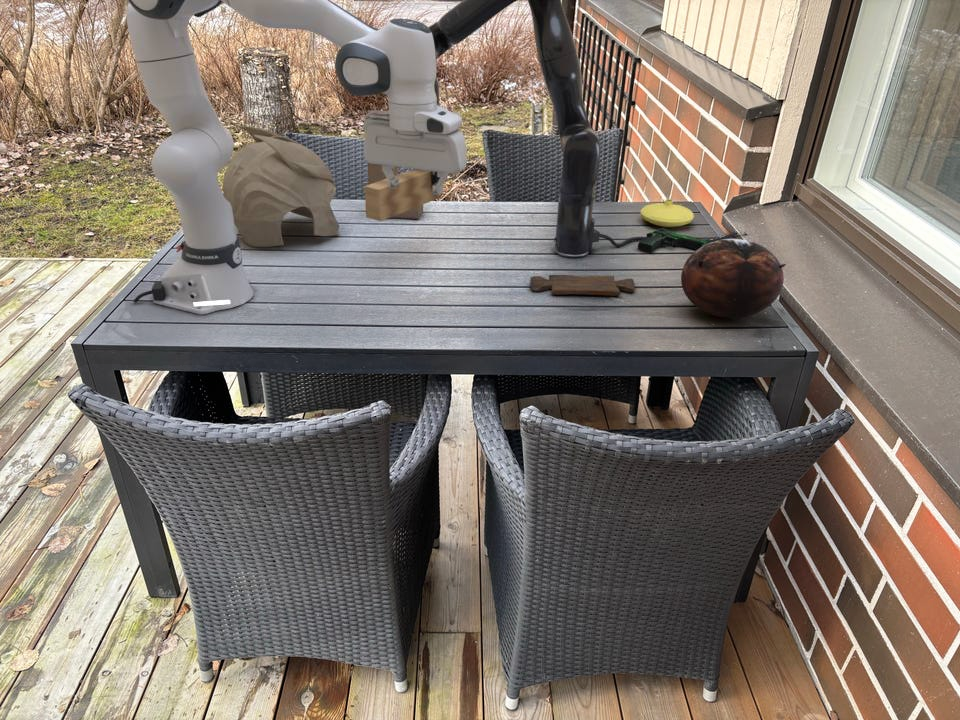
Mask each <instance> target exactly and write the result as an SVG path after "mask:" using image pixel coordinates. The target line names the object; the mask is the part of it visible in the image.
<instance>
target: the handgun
mask: <svg viewBox="0 0 960 720" xmlns="http://www.w3.org/2000/svg"><path fill="white" fill-rule="evenodd" d="M645 237H648V238H645V239H642V240H638V244H637V249H638V250H639V251H642V252H646V253H650V254H651V253H652V252H653V251H654V250H655V249H658V248H660V247H663V246H665V247H669V248H670V247H671V248H672V247H684V248H688V249H691V250H692V249H693V250H695V251H696V250H698V249H699V248H701V247H702V246H704V245H706V244H709V242H708V240H704V238H699V237H695V236H690V235H685V234H681V233H677V232H675V231H671V230H668V229H666V228H661V227H660V228H658V229H655V230H654V231H652V232H647V233H646V235H645Z"/></svg>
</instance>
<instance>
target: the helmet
mask: <svg viewBox="0 0 960 720" xmlns="http://www.w3.org/2000/svg"><path fill="white" fill-rule="evenodd" d="M238 128H239V129H242V130H244V131H245V132H246V133H247V134H248V135H249V136H250V137H251V138H252V140H254V143H250V144H246V145H245V146H243V147H242V148H241V149H239V150H238V151H237V152H236V153H234V154H233V155H232V156H231V158H230V160H229V162H228V166H227V167H226V169H225V171H224V175H223V179H222V193H223V195H224V197H225V199H226V200H227V201H229V202H230V204H231V206H232V211H233V217H234V223H235V229H236V230H237V231H238V232H239V234H240V236H241V238H242V239H243V241H244V242H245V244H247V245H248V246H251V247H255V248H257V247H258V248H268V247H278V246H284V245H285V244H284V240H283V237H282V222H283V220H284V217H285V216H287V214H288V213H293V214H295V215H298V216H302V217H305V218H309V219H312V221H313V222H312V223H313V235H314V236H322V237H327V236H338V235H339V231H340V224H339V222H338V221H337V219H336V216H335V214H334V212H333V208H332V206H331V202H332V201H333V199H334V197H335V196H336V193H337V187H336V185H335V182H334V178H333V174H332V171H331V169H330V168H329V167H328V166H327V164H326V163H325V162H324V161H323V159H322V158H321V157H320V156H319V155H318V154H317V153H316V152H315V151H313V150H312V149H311V148H308V147H306V146H305V145H303V144H300V143H299V142H298V141H296V140H294V139H292V138H290V137H287V136H283V135H279V134H277V133H275V132H272V131H270V130H268V129H263V128H260V127H255V126H250V125H249V126H248V125H239V126H238Z"/></svg>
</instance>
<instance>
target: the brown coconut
mask: <svg viewBox="0 0 960 720" xmlns="http://www.w3.org/2000/svg"><path fill="white" fill-rule="evenodd" d="M786 265H787V264H786V263H780V260H779V259H778V258H777V257H776V255H774V254H773V253H772V252H771V251H770V250H769V249H767V247H764V246H762V245H761V244H759V243H756V242H753V241H750V240H746V239H740V238H725V239H721V240H718V241H714V242H708V244H706V245H704V246H702V247H701V248H699V249H698V250H696V249H695V251H694V252H693V253H691V255H689V257H688V258H687V259H686V261H685V263H684V265H683V267H682V270H681V273H680V276H681V277H680V282H681V287H682V289H683V293H684V294H685V296H686V297H687V299H688V300H689V301H690V303H692V305H693V306H695V307H696V308H698V309H699V310H700V311H702V312H704V313H705V314H706V313H707V314H708V315H711V316H715V317H718V318H726V319H739V318H741V319H742V318H746V317H750V316H753V315H756V314H758V313H761V312H762V311H764V310H766V309H767V308H769V307H770V306H771V305H772V304H773V303H775V301H776V300H777V299H778V297H779V296H780V294H781V292H782V289H783V287H784V279H785V278H784V270H783V268H784V267H785V266H786Z"/></svg>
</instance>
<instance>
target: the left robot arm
mask: <svg viewBox="0 0 960 720" xmlns="http://www.w3.org/2000/svg"><path fill="white" fill-rule="evenodd" d="M127 1H128V4H127V6H126V8H125V14H126V24H127V29H128V36H129V40H130V44H131V49H132V52H133V55H134V59H135V61H136V66H137V68H138V71H139V74H140V78H141V80H142V83H143V86H144V90H145V92H146V96H147V98H148V101H149V103H150V104H151V105H152V106H153V108H155V109H157V111H159V113H160V114H161V116H162V117H163V119H164V120H165V122H166V124H167V126H168V128H169V129H170V134H171V135H170V136H167V138H164V139H163V140H162V141H161V142H160V144H159V145H158V147H157V148H156V150H155V151H154V153H153V156H152V159H151V169H152V172H153V175H154V176H155V178H156V180H157V181H158V182H159V183H160V184H161V185H162V186H163V187H164V188H166V189H167V190H168V191H169V194H170V196H171V198H172V200H173V201H174V205H175V206H176V208H177V212H178V215H179V219H180V223H181V224H180V225H181V228H182V233H183V237H184V240H183V241H182V242H181V243H180V244H179V245H177V246H176V247H175V249H177V250H176V251H175V252H176V253H179V252H180V251H181V256H180V257H179V258H178V259H176V260H175V261H174V262H173V263H172V264H171V265H170V266H169V267H168V268H166V270H165V271H164V272H163V274H162V276H161V281H160V280H159V281H154V282H153V285H152V287H151V288H150V289H151V290H147V291H144V292H142V293H140V294H138V295H137V296H135V298H134V299H133V303H134V304H136V303H137V302H139V301H140V300H141V298H143V297H147V296H149V295H152V297H153V299H152V300H153V303H154V304H156V305H160V306H164V307H169V308H172V309H175V310H180V311H184V312H187V313H188V312H189V313H193V314H197V315H207V314H210V313H213V312H217V311H223V310H229V309H232V308H235V307H239V306H242V305H243V304H245V303H247V302H249V301H250V300H251V299H253V297H254V294H255V292H254V290H253V288H252V286H251V284H250V282H249V279H248V277H247V275H246V270H245V268H244V265H243V253H242V252H243V251H242V247H241V241H240V237H239V236H238V235H237V228H236V226H235V223H234V217H233V211H232V206H231V204H230V202H229V201H227V200H226V199H225V197H224V195H223V190H222V189H221V185H220V183H219V172H220V171H221V170H223V169H224V168H225V167H227V165H229V163H230V160H231V158H232V157H233V153H234V148H235V145H234V144H235V142H234V138H233V136H232V133H231V131H230V130H229V129H228V128H227V127H226V126H225V125H223V124H222V122H221V121H220V119H219V116H218V114H217V113H216V111H215V108H214V106H213V105H212V103H211V101H210V98H209V96H208V94H207V91H206V88H205V85H204V82H203V78H202V76H201V75H202V74H201V72H200V69H199V64H198V62H197V57H196V55H195V51H194V48H193V44H192V41H191V39H190V35H189V27H188V26H189V23H190V20H191V18H192V17H196V18H201V17H203V16H204V15H206V14H208V13H210V12H212V11H213V10H215V9H217V8H218V7H220V6H221V5H222V4H223V3H224V4H225V5H226V6H228V7H229V8H231V9H232V10H233V11H234V12H236V13H237V14H239V15H240V16H242V17H243V18H245V19H247V20H248V21H251V22H253V23H255V24H257V25H258V26H261V27H264V28H268V29H286V30H288V29H291V30H299V31H300V30H301V31H307V32H310V33H313V34H316V35H319V36H321V37H323V38H324V39H326V40H328V41H329V42H331V43H332V44H334V45H336V46H337V47H339V50H338V52H337V53H336V57H335V61H334V70H335V74H336V78H337V79H338V82H339V84H340V85H341V87H342V88H343V89H344V90H345V91H346V92H347V93H349V94H351V95H352V96H356V97H371V96H374V95H379V94H384V95H386V96H387V103H388V111H389V114H377V113H370V115H368V116H366V118H364V119H363V130H364V141H363V156H364V157H363V158H364V160H365V161H366V163H367V162H368V163H372V164H380V165H382V171H383V172H384V174H385V176H386V177H387V179H388V186H389V188H398V187H399V178H397V177H395V176H394V174H393V171H392V168H393V166H396V167H398V168H405V169H411V170H413V169H420V170H427V171H435V172H437V177H440V179H439V181H438V183H435V184H434V185H432V189H433V191H432V192H433V194H438V195H440V194H441V195H442V194H443V193H444V184H445V182H446V180H447V179H448V177H449V174H451V175H458V174H460V173H461V172H462V171H463V170H464V169H465V168H466V167H467V163H468V161H467V159H468V158H467V155H468V154H467V146H466V145H467V144H466V143H467V142H466V139H465V135H464V133H463V132H462V130H460V128H461V127H462V126H463V118H462V116H460V115H459V114H457V113H455V112H453V111H450V110H448V109H446V108H444V107H442V106H441V105H440V106H438V105H437V97H436V94H435V89H434V84H435V79H436V77H437V59H436V56H435V46H434V40H433V35H432V32H431V30H430V29H429V26H428V25H426V24H424V22H421V21H418V20H414V19H410V18H402V17H401V18H393V19H390V20H389V21H388V22H386V24H384V26H382V27H381V28H378V27H374V26H372V25H370V24H368V23H366V22H365V21H363V20H362V19H360V18H359V17H357V16H356V15H354V14H352V13H351V12H349V11H347V10H346V9H345V8H343V7H341V6H340V5H338V4H337V3H335V2H333V1H332V0H127ZM369 117H370V118H369ZM368 163H367V164H368Z"/></svg>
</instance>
